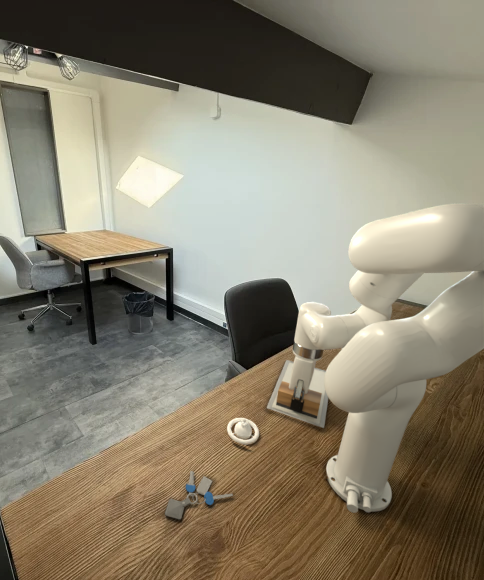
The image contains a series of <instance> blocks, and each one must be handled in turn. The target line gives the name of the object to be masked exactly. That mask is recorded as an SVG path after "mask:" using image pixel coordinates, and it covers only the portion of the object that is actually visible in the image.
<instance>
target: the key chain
mask: <svg viewBox="0 0 484 580" xmlns="http://www.w3.org/2000/svg"><path fill="white" fill-rule="evenodd" d="M194 480H195V472H194V470H190V471H189V480H188V482H187V483H185V490H186V491H187V493H188V494H187V495H186V498H185V499H183V500H181V501H180V500H177V499H173V498H169V499H168V503H167V505H166V509H165V511H164V516H166V517H168V518H169V517H170V518H173V519H176V520H181V519H182V518H183V514H184V509H185V508H186V507H187V506H190V505H195V504H198V505H199V504H203V503H206V505H208V506H213V504H214V502H215V500H219V499H226V498H230V497H234V495H233V493H225V494H218V495H214V494H213V493H212V492H211V491H209V489H210V487H211V485H212V483H213V480H212V479H210V478H208V477H207V476H204V475H203V477H202V478H201V480H200V482H199V484H198V485H197V488H196V485H195V481H194ZM194 492H195V493H194ZM197 494H200V495H202V496H204V497H203V498H204V499H203V501H202V502H198V501H199V500H198V499H199V497H198V495H197ZM189 497H192V501H193V502H192V501H191V500H190V498H189ZM194 497H195V499H194Z"/></svg>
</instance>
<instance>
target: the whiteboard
mask: <svg viewBox="0 0 484 580" xmlns="http://www.w3.org/2000/svg"><path fill="white" fill-rule="evenodd" d="M293 363H294V361H292V360H288V359H286V360H285V362H284V365H283V367H282V370H281V372H280V374H279V377H278V380H277V381H276V384H275V386H274V389H273V392H272V394H271V396H270V398H269V401H268V403H267V406H266V409H268V410H271V411H274V412H277V413H279V414H283V415H285V416H289V417H291V418H294V419H297V420H300V421H303V422H305V423H308V424H310V425H313V426H317V427H320V428H323V429H324V428H325V424H326V418H327V410H328V404H329V403H328V402H329V398H328V396H327V393H326V390H325V385H324V378H325V373H326V370H325V369H321V368H317V367H315V369H314V373H313V377H312V380H311V383H310V386H309V389H310V390H313V391H316V392H320V393H322V396H321V401H320V406H319V411H318V415H317V419H316V418H313V417H310V416H307V415H304V414H301V413H298V412H295V411H292V410H290V409H287V408H284V407H281V406H278V405H276V402H277V395H278V390H279V387H280V385H281V382H282V381H284V382H287V383H290V379H291V374H292V368H293Z"/></svg>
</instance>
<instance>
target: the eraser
mask: <svg viewBox="0 0 484 580" xmlns="http://www.w3.org/2000/svg"><path fill="white" fill-rule="evenodd" d="M289 384H290V383H287V382H284V381H282V382H281V385H280V387H279V390H278V395H277V402H276V405H278V406H281V407H284V408H287V409H290V405H291V399H292V397H293V393H294V389H293V390H290V389H289ZM296 388H297V386H296ZM302 390H304V389H303V388H302ZM301 396H302V393H301ZM321 396H322V393H320V392H316V391H313V390H310V389H308V392H307V393H306V394H304V399H303V400H304V405H303V410H302V413H301V414H304V415H307V416H310V417H313V418H316V419H317V415H318V411H319V406H320V401H321ZM292 411H293V410H292ZM295 412H296V411H295ZM298 413H299V412H298Z"/></svg>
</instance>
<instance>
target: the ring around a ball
mask: <svg viewBox="0 0 484 580" xmlns="http://www.w3.org/2000/svg"><path fill="white" fill-rule="evenodd" d="M234 425H235V426H234ZM233 426H234V432H233V431H232V427H233ZM252 429H253V430H254V434H252V433H253V430H252ZM226 432H227V434H228V436H229V438H230V439H231V440H232V441H234V442H235V443H238V444H239V445H244V446H245V445H246V446H247V445H248V446H249V445H252V444H254V443H256V442H257V441H258V439H259V437H260V430H259V427H258V426H257V425H256V423H255V422H254V421H252V420H250V419H249V418H245V417H235V418H233V419H231V420H230V421H229V422H228V424H227V427H226Z"/></svg>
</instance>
